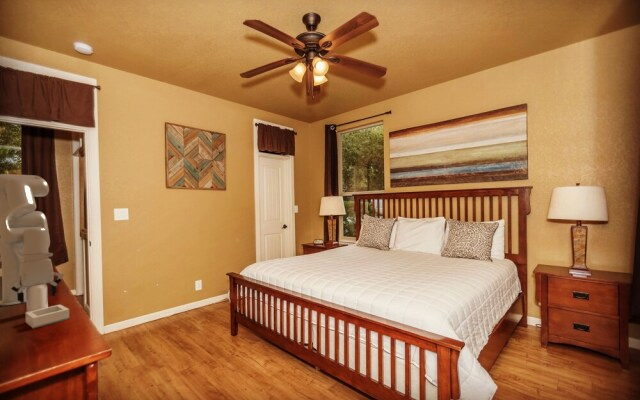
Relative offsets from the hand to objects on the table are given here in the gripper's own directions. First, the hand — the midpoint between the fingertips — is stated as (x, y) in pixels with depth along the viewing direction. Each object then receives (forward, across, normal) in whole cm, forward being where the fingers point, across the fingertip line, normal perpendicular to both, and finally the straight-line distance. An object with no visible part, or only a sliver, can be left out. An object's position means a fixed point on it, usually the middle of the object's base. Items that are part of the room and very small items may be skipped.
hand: (37, 298), depth 126 cm
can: (+6, 0, -1) cm, 6 cm away
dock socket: (+6, 0, +15) cm, 17 cm away
